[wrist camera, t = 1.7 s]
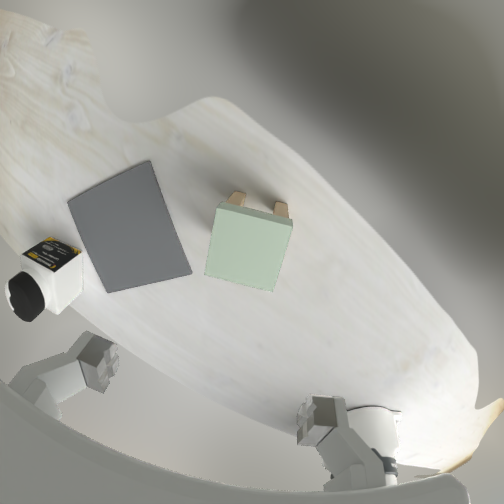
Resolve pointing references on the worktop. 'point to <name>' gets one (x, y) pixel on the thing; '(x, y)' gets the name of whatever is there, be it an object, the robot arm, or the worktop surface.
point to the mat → (129, 231)
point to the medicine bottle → (46, 279)
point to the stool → (248, 243)
